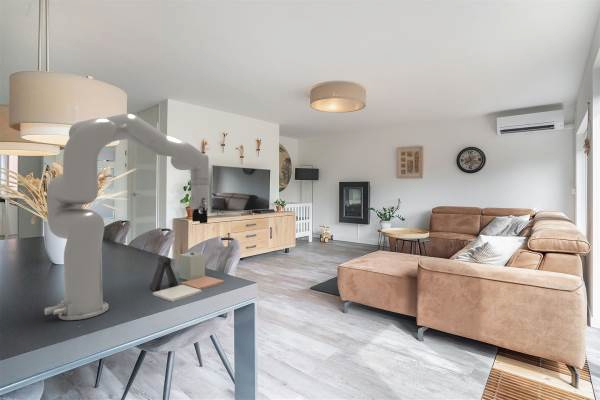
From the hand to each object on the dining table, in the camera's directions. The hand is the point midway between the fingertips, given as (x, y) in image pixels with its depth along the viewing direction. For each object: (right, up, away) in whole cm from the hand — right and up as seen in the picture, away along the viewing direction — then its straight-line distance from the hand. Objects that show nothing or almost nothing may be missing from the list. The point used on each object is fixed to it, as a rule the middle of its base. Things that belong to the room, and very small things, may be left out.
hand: (199, 222), depth 137 cm
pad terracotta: (+5, -24, -11) cm, 27 cm away
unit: (-3, -24, -2) cm, 24 cm away
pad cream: (-1, -24, -23) cm, 33 cm away
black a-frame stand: (-8, -24, -16) cm, 30 cm away
